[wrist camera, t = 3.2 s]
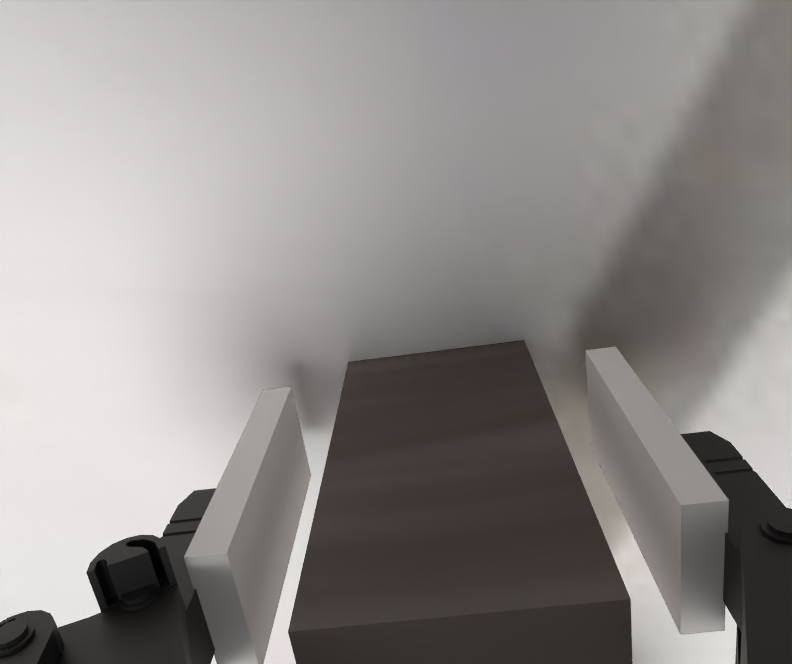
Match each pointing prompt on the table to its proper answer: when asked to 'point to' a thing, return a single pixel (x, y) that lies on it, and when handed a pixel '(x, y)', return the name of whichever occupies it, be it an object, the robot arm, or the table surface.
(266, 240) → the table surface
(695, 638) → the table surface
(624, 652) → the head tile
